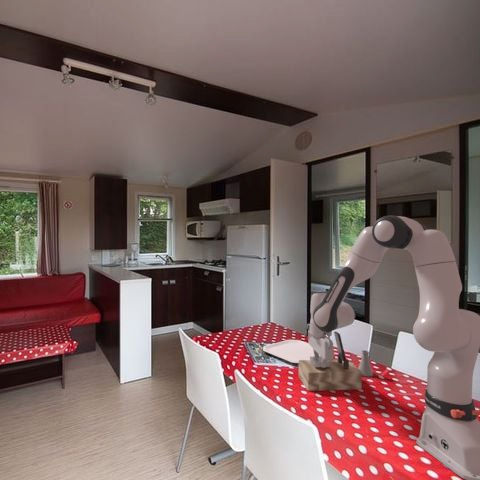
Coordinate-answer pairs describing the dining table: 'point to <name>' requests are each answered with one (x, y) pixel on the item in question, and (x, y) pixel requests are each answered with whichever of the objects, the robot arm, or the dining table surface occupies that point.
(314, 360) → the steel pin
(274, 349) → the plate
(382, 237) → the robot arm
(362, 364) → the flask
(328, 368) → the socket block
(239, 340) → the dining table surface
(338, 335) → the latch bar
